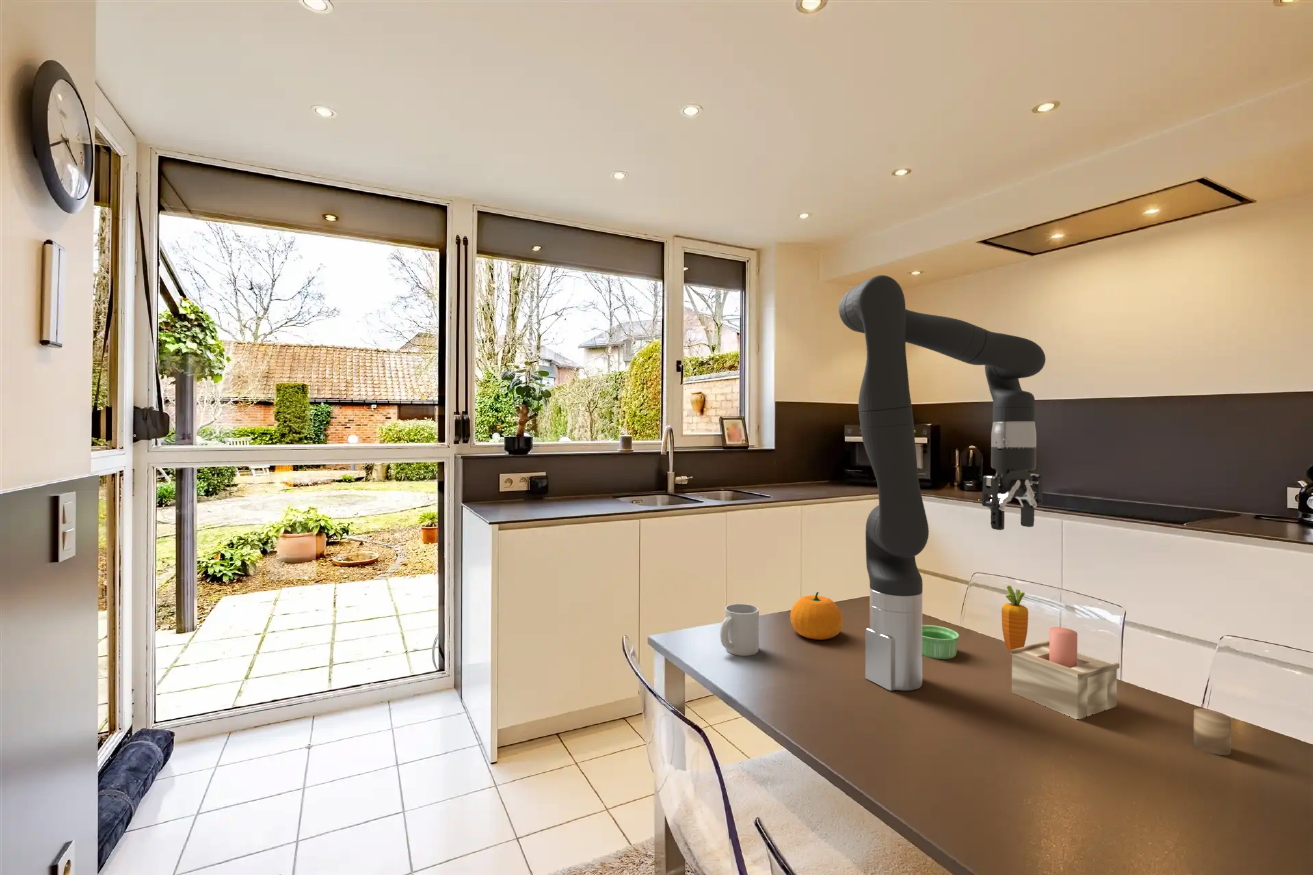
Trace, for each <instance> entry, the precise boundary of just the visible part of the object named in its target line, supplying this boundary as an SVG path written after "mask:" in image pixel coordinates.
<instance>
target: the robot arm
mask: <svg viewBox="0 0 1313 875" xmlns="http://www.w3.org/2000/svg"><path fill="white" fill-rule="evenodd" d="M838 314H839V317H840V319H841V321H842V323H843V325H844V326H846V327H847V328H848V329H849V330H850V331H853V332H857V333H861V334H864V337H865V346H866V360H865V361H866V362H865V367H864V371H863V372H864V373H863V377H862V380H861V385H860V389H859V394H858V416H859V418H858V419H859V424H860V432H861V440H862V442H863V446H864V448H865V449H864V450H865V452H866V455H867V457H868V460H869V463H870V465H871V468H872V471H873V472H874V476H875V479H876V484H877V491H878V492H877V493H878V505H876V506H875V507H874V508H873V509H872V510H871V511H870V513H869V514H868V516H867V519H866V524H865V562H866V570H867V573H868V580H869V627H867V628H866V629H865V666H864V667H865V669H864V670H865V672H864V673H865V679H866V680H868V681H870V682H871V683H875V684H876V685H878V686H880V687H881V688H884V689H886V690H887V691H895V690H896V691H914V690H917V689H920V688H921V687H922V685H923V655H922V625H923V592H924V591H923V586H924V585H923V577H922V575H921V573H920V571H919V569H918V566H917V561H916V557H917V555H919V554H920V553H922V551H923V550H924V549H925V547H926V546H927V543H928V540H929V535H930V534H929V532H930V531H929V530H930V528H929V523H928V522H929V521H928V518H927V513H926V509H925V505H924V502H923V496H922V492H921V487H920V480H919V472H918V461H917V460H918V459H917V448H916V438H915V425H914V415H913V407H912V399H911V392H910V383H909V382H910V380H909V370H908V363H907V361H908V360H907V352H906V348H907V347H906V343H908V344H910V345H914V346H917V347H921V348H924V349H926V350H927V349H928V350H930V351H933V352H936V353H938V354H940V355H944V356H946V357H949V358H952V359H954V360H957V361H959V362H963V363H965V364H967V365H972V366H984V374H985V376H986V382H987V384H988V388H989V393H990V395H991V398H992V401H993V402H992V405H993V406H992V427H991V437H990V438H991V439H990V441H991V442H990V444H991V445H990V448H991V449H990V453H991V454H990V467H991V468H992V469H993V470H995V472H996V473H995V475H983V477H982V495H981V505H982V506H983V507H986V508H988V509H989V510H990V527H991V529H992V530H996V531H997V530H998V531H1004V529H1005V507H1006V506H1007V503H1009V502H1011V501H1012V500H1013V499H1017V500H1018V502H1019V503H1020V505H1021V507H1020V525H1021V526H1022V527H1026V528H1033V527H1034V525H1035V509H1036V508H1037V507H1038V506H1039V505H1042V504H1043V502H1044V498H1043V497H1044V496H1043V475H1042V474H1040V473H1039V474H1038V473H1031V471H1034V470H1035V469H1036V468H1037V429H1036V400H1035V396H1034V394H1033V393H1032V392H1030V391H1028V390H1027V391H1025V390H1023V389H1022V386H1021V384H1020V379H1025V378H1030V377H1032V376H1033V377H1034V376H1035V375H1037V374H1038V373H1040V372H1042V370H1043V369H1044V367H1045V363H1046V355H1045V352H1044V350H1043V348H1042V347H1041V345H1039V344H1038V343H1036V342H1035V341H1033V340H1031V339H1028V338H1026V337H1023V336H1022V337H1020V336H1017V335H1011V334H1006V333H1002V332H993V331H990V330H987V329H986V328H983V327H980V326H979V325H978V326H977V325H976V324H972V323H970V322H968V321H965V320H962V319H958V318H952V317H948V316H942V315H936V314H935V315H934V314H928V313H923V312H917V311H912V310H909V309H907V308H906V300H905V294H904V291H903V289H902V287H901V285H900V284H899V283H898V281H896V279H895V278H892V277H890V276H888V275H883V274H882V275H881V274H880V275H875V276H873V277H871V278H868V279H867V280H866V279H865V281H862V282H861V283H859V284H857V285H855V286H853V287H852V288H851V289H849V290H848V291H847V292H845V294H844V295H843V296H842V297H841V300H840V301H839V304H838ZM1035 493H1036V496H1035ZM989 496H991V499H990V500H989Z"/></svg>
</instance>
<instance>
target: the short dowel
mask: <svg viewBox="0 0 1313 875" xmlns="http://www.w3.org/2000/svg"><path fill="white" fill-rule="evenodd" d="M1193 745H1194V746H1195V747H1196V748H1197V749H1198V750H1200V749H1201V751H1202V750H1203V752H1205V751H1206V752H1205V753H1207V752H1209V753H1208V754H1211V753H1212V754H1211V755H1214V754H1217V755H1216V756H1219V755H1229V756H1231V755H1230V754H1232V718H1231V717H1230V716H1228V715H1227V714H1224V713H1223V712H1219V711H1218V710H1217V711H1216V710H1213V709H1207V708H1194V710H1193Z"/></svg>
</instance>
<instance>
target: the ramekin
mask: <svg viewBox="0 0 1313 875" xmlns="http://www.w3.org/2000/svg"><path fill="white" fill-rule="evenodd" d="M959 639H960V634H959V633H958V632H957V631H955V630H954V629H951V628H948V627H944V626H939V625H932V624H931V625H930V624H922V656H925V657H927V658H931V659H938V660H939V659H941V660H949V659H953V658H955V657H956V655H957V652H958V641H959Z"/></svg>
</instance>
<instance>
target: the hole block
mask: <svg viewBox="0 0 1313 875" xmlns="http://www.w3.org/2000/svg"><path fill="white" fill-rule="evenodd" d="M1010 655H1012V657H1011V693H1012V694H1014V695H1017V696H1020V697H1022V698H1024V699H1027V700H1029V701H1031V702H1033V701H1034V703H1036V704H1039V705H1041V706H1043V707H1045V706H1046V708H1048V709H1050V710H1053V711H1055V712H1058V713H1059V714H1062V715H1064V714H1065V716H1067V717H1069V716H1070V717H1069V718H1072V719H1075V720H1076V719H1079V720H1082V719H1084V718H1087V717H1090V716H1092V714H1093V715H1096V714H1100V713H1101V712H1104V710H1105V711H1107V710H1110V709H1113V708H1116V707H1117V706H1118V705H1117V702H1118V701H1117V700H1118V699H1117V697H1118V695H1117V688H1118V687H1117V686H1118V684H1117V681H1118V680H1117V679H1118V676H1117V675H1118V671H1117V670H1119V669H1120V663H1119V662H1114V663H1111V662H1110V663H1109V662H1107V661H1103V660H1100V659H1098V658H1095V657H1091V656H1088V655H1085V654H1082V653H1079V652H1077V666H1076V667H1073V668H1068V667H1065V666H1063V665H1060V664H1057V663H1054V662H1051V661H1049V640H1047V641H1042V642H1039V643H1034V644H1031V645H1030V644H1029V645H1026V646H1025V645H1024V647H1021V648H1017V649H1013V650H1010V654H1009V656H1010ZM1086 716H1087V717H1086Z"/></svg>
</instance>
